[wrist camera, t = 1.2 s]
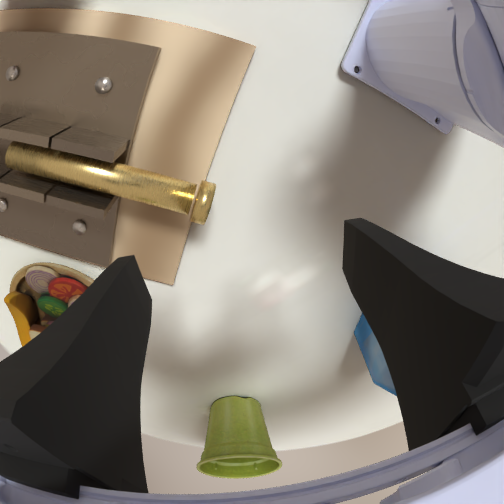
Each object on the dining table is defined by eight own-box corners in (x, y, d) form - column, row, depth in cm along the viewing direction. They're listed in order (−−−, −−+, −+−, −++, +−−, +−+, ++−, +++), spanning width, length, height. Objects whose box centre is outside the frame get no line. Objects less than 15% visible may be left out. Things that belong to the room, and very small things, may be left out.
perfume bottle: (404, 327, 30) (449, 421, 20) (353, 332, 29) (393, 439, 19) (427, 282, 27) (489, 380, 17) (373, 284, 26) (433, 399, 16)
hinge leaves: (161, 47, 14) (147, 44, 11) (111, 262, 22) (97, 293, 19) (3, 31, 11) (-29, 33, 8) (-13, 224, 18) (-35, 247, 16)
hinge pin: (216, 178, 18) (215, 194, 16) (204, 212, 19) (202, 232, 17) (24, 130, 14) (3, 141, 12) (21, 165, 16) (2, 179, 14)
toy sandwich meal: (135, 273, 23) (122, 316, 19) (129, 368, 30) (123, 405, 26) (5, 241, 20) (-22, 275, 17) (28, 341, 27) (14, 374, 23)
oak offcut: (255, 46, 15) (256, 46, 15) (173, 281, 24) (172, 285, 23) (4, 10, 10) (0, 10, 10) (-17, 224, 19) (-20, 227, 19)
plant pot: (223, 426, 39) (226, 482, 32) (181, 400, 34) (179, 465, 27) (284, 409, 37) (294, 468, 30) (250, 378, 32) (258, 451, 25)
